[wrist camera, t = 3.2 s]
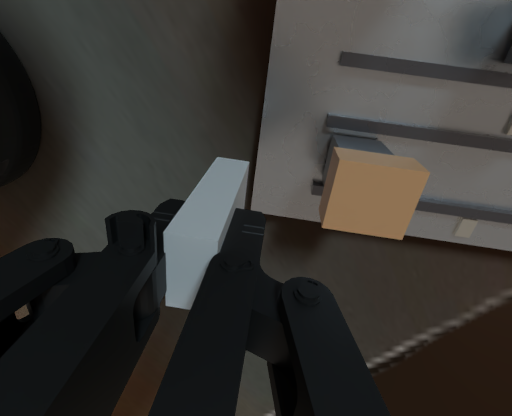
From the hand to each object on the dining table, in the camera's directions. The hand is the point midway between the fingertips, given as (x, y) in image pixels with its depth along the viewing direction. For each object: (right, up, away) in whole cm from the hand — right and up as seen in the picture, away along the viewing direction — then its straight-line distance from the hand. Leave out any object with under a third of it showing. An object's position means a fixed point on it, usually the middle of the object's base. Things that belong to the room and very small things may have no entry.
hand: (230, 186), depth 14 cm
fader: (+7, +2, +5) cm, 9 cm away
